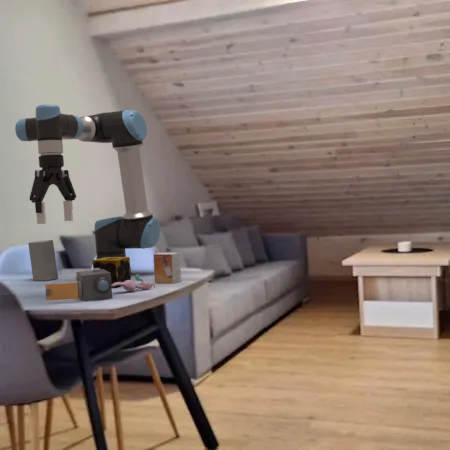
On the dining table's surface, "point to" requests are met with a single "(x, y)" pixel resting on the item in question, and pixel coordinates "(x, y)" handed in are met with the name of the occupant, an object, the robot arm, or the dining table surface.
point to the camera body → (95, 284)
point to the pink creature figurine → (131, 284)
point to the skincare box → (43, 260)
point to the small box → (167, 267)
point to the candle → (115, 268)
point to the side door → (63, 291)
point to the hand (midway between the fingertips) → (55, 222)
